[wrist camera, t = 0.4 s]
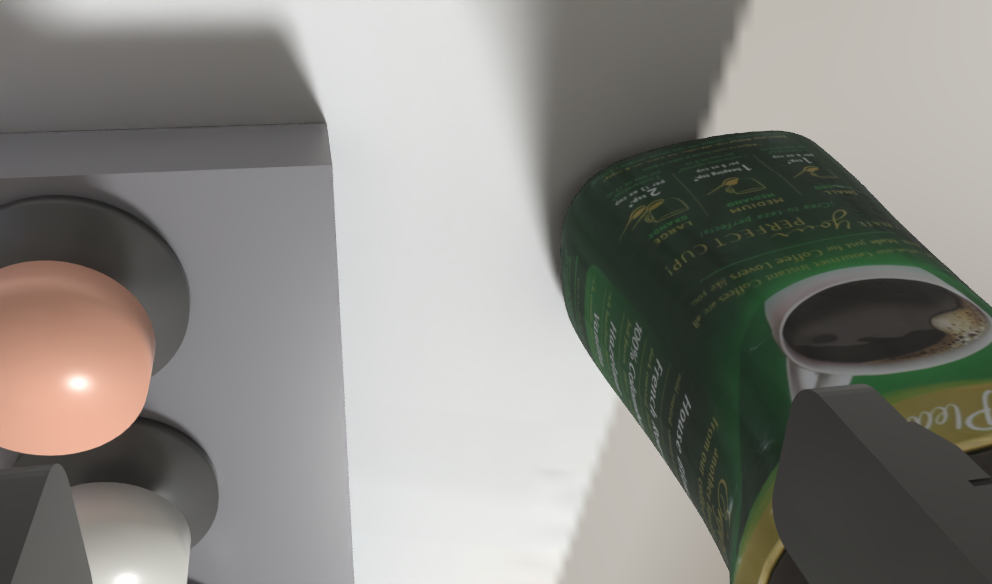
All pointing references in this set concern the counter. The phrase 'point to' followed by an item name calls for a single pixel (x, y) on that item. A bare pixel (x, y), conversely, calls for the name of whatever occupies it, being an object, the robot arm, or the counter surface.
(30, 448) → the terracotta button
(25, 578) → the robot arm
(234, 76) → the counter surface
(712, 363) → the coffee jar
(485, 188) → the counter surface
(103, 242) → the button panel
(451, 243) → the counter surface
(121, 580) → the white button
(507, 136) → the counter surface
